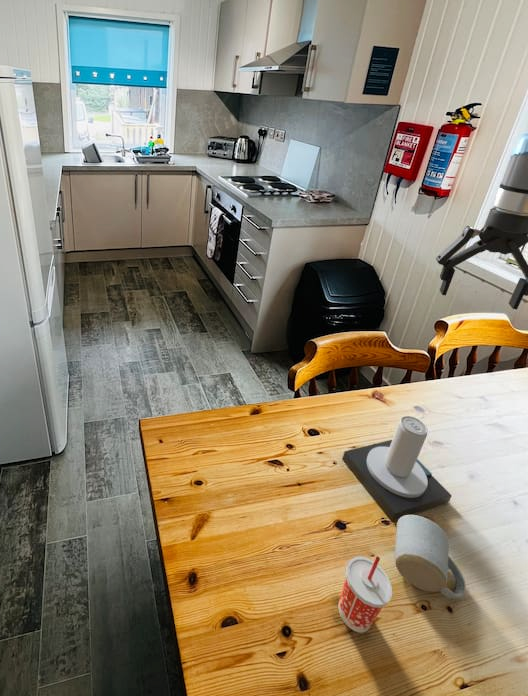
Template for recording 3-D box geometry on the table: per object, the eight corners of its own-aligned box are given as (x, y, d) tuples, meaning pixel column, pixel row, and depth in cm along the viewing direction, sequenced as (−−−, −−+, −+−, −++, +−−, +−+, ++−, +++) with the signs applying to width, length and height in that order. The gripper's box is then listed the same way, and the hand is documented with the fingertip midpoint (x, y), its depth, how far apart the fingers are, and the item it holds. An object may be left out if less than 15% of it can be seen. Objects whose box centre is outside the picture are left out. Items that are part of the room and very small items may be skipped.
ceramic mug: (388, 575, 66) (402, 547, 63) (391, 532, 72) (404, 505, 69) (464, 618, 61) (483, 590, 58) (460, 568, 67) (477, 540, 64)
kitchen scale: (448, 503, 78) (453, 492, 77) (391, 521, 74) (396, 509, 73) (392, 446, 90) (397, 435, 89) (341, 459, 86) (345, 447, 85)
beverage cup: (384, 621, 60) (411, 566, 54) (360, 649, 57) (387, 593, 51) (348, 582, 65) (370, 527, 59) (324, 605, 61) (345, 550, 56)
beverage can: (396, 456, 84) (412, 413, 79) (415, 475, 80) (434, 432, 75) (378, 461, 82) (394, 418, 78) (397, 482, 78) (415, 437, 73)
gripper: (580, 215, 81) (536, 304, 90) (440, 198, 90) (413, 281, 98) (600, 226, 75) (551, 321, 83) (448, 205, 83) (417, 294, 92)
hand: (476, 299), depth 91 cm, fingers open, 13 cm apart
